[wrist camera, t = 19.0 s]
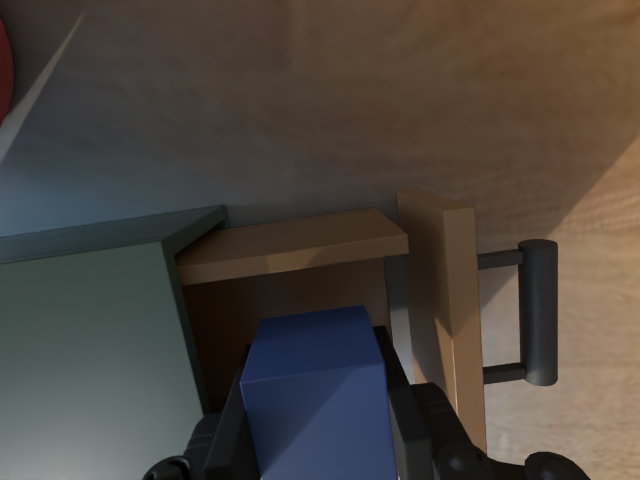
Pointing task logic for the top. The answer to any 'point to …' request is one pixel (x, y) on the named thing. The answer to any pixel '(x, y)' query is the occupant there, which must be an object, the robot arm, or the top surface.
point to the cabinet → (98, 348)
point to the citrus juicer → (5, 73)
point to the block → (319, 398)
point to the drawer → (373, 293)
